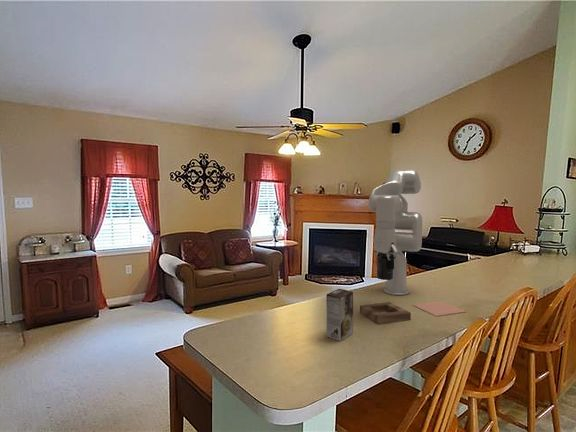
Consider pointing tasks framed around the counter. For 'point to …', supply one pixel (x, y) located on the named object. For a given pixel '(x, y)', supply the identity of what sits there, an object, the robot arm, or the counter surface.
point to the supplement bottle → (383, 267)
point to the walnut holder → (393, 316)
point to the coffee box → (339, 314)
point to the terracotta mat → (438, 308)
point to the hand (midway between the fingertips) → (385, 267)
